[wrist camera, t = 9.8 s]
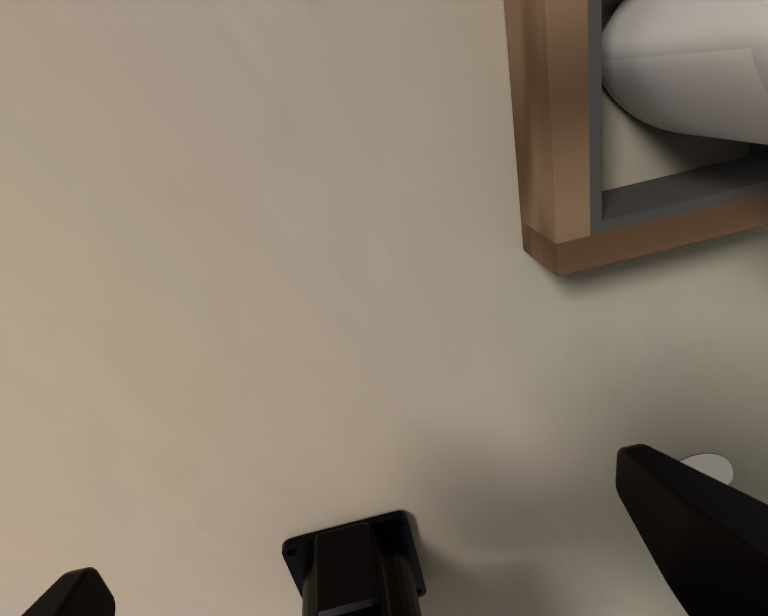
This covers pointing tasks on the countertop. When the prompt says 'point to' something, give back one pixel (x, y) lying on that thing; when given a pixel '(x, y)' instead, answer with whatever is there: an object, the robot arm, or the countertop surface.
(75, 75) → the countertop surface
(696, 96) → the eye dropper bottle
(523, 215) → the rubber-lined collar
